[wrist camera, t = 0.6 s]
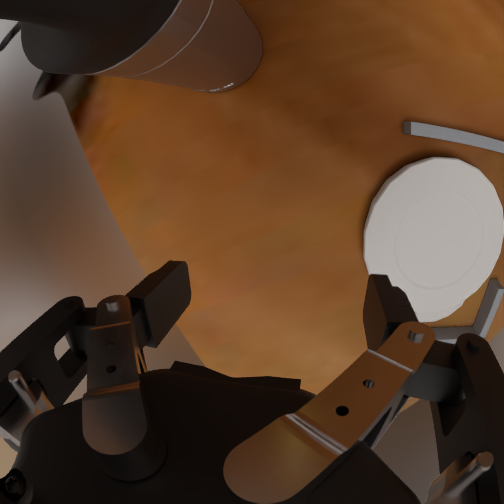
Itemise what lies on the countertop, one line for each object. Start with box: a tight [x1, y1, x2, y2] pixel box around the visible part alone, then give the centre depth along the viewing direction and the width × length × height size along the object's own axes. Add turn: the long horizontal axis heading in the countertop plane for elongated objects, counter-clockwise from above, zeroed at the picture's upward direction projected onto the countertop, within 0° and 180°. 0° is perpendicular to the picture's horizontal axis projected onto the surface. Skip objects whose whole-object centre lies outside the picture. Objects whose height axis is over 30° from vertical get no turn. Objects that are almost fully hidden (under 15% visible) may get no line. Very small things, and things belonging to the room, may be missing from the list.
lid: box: [363, 157, 504, 322], centre depth 26 cm, size 17×20×3 cm
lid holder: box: [403, 122, 504, 344], centre depth 25 cm, size 25×16×2 cm, turn 3°
